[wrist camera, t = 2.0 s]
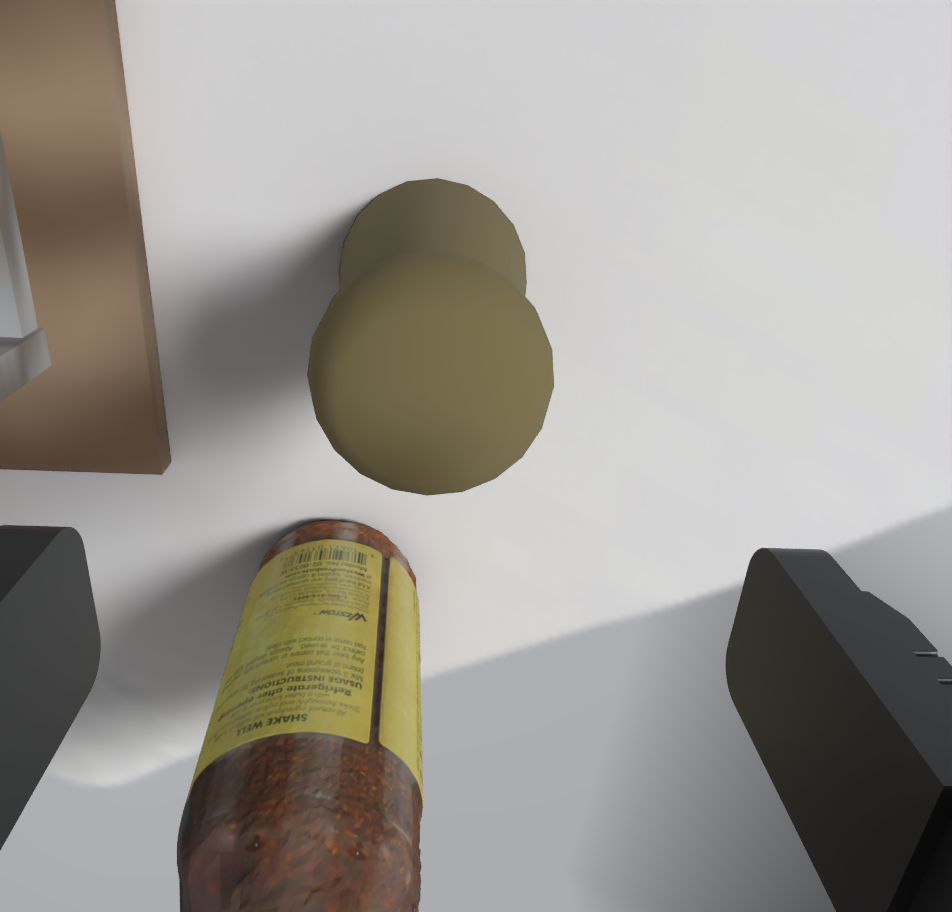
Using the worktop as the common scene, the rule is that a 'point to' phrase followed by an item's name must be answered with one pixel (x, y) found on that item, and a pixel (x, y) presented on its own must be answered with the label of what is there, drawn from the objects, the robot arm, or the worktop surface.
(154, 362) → the shaker holder
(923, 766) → the robot arm
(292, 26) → the worktop surface
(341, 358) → the olive rounded bulbous part
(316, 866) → the sauce bottle
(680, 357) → the worktop surface
